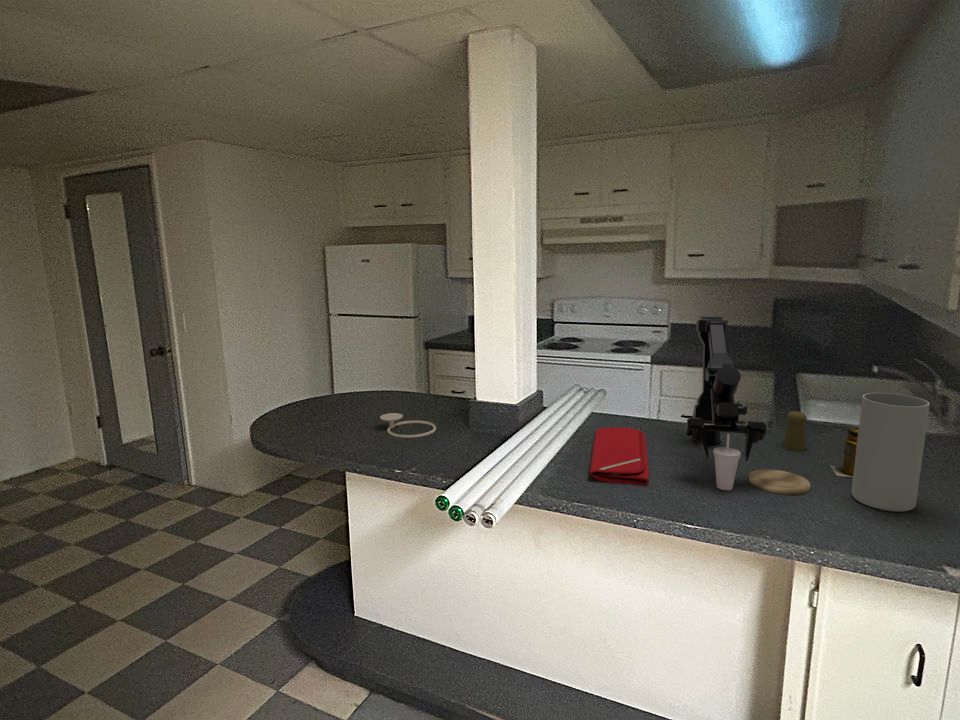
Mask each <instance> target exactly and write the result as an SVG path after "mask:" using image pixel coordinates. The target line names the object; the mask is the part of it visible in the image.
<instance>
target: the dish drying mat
mask: <svg viewBox="0 0 960 720" xmlns="http://www.w3.org/2000/svg"><path fill="white" fill-rule="evenodd" d="M647 449H648V448H647V440H646V435H645V432H644V431H642V430H639V429H636V428H632V427H621V426H619V427H618V426H616V427H614V426H613V427H611V426H610V427H601V428H600V427H599V428H598V429H596V432H595V434H594V441H593V448H592V454H591V461H590V467H589V476H591V477H592V478H593V479H595V480H597V481H599V482H600V481H601V482H603V483H608V484H609V483H611V484H624V485H636V486H645V487H647V486H648V485H649V480H650V479H649V478H650V477H649V475H650V468H649V458H648V452H647V451H648V450H647Z"/></svg>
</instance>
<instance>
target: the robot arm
mask: <svg viewBox="0 0 960 720" xmlns="http://www.w3.org/2000/svg"><path fill="white" fill-rule="evenodd" d="M728 325H729V323H728V320H727V319H723V316H700V319H696V325H695V330H696V332H698V333H697V337H698V339H699V341H700V342H701V344H702V346H703V348H702V349H703V351H702V352H703V353H702V387H701V388H702V391H701V392H700V394H699V396H698V397H697V399H696V404H695V405H694V407H693V411H692V417H689V418H687V419H686V423H685V424H686V425H685V435H686V436H687V437H690V438H691V441H692V442H695V443H697V444H698V445H699V447H700V449H701V451H702V453H703V454H704V456H705V458H706V459H708V458H709V447H708V446H710V447H711V446H714V445H717V444H719V442H720V443H722V440H721V433H731V434H732V433H733V434H745V440H744V458H745V459H744V460H745V462H748V460H749V458H750V453H751V451H752V447H753V444H757V443H759V441H762V440H763V439H764V438H765V436H766V434H767V431H768V428H767V424H766V423H765V422H764V421H761V420H748V422H747V424H746V425H740V424H737V423H739V418H740V416H741V415H743V416H745V415H747V414H748V405H747V404H748V403H747V401H742V400H740V401H738V402H737V403H736V402H735V394H737V393H736V392H737V390H738V387H739V385H740V381H741V378H742V375H741V372H740V371H739V370H738V369H737V368H736V367H735V365H734V361H733V359H731V357H729V356H728V352H727V351H728V350H727V345H726V342H727V341H726V335H725V333H728Z"/></svg>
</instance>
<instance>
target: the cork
mask: <svg viewBox="0 0 960 720" xmlns="http://www.w3.org/2000/svg"><path fill="white" fill-rule="evenodd" d="M807 418H808V417H807V415H806V414H805V413H804V412H801V411H795V410H794V411H789V412H788V413H787V415H786V421H788V423H787V427H786V431H785V434H784V440H783V443H782V447H783V448H784V449H786V450H790V451H797V452H801V451H805V450H806V437H805V435H806V434H805V432H806V431H805V423H807V420H808V419H807Z"/></svg>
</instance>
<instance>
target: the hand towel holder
mask: <svg viewBox="0 0 960 720" xmlns="http://www.w3.org/2000/svg"><path fill="white" fill-rule="evenodd" d="M403 417H404V415H403V414H402V413H398V412H397V413H395V412H393V413H391V412H390V413H389V412H388V413H386V414H381V416H379V418H380V420H382V421H385V422H389V425H388V428H387V430H386V433H387V434H389V435H390V436H392V437H395V438H401V439H402V438H403V439H412V438H421V437H426V436H429V435H431V434H433V433H435V432H436V429H437V426H436V425H435V424H434V423H433V422H431V421H430V422H429V421H426V420H415V419H414V420H404V421H399V420H401V419H402V418H403ZM395 421H399V422H396V423H395ZM407 424H408V425H409V424H420V425H421V424H423V425H426V426H428V425H429V426H431V427H432V430H430V431H427V432H423V433H418V434H398V433H394V432H392V431H391V429H395V427H398V426H401V425H407Z"/></svg>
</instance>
